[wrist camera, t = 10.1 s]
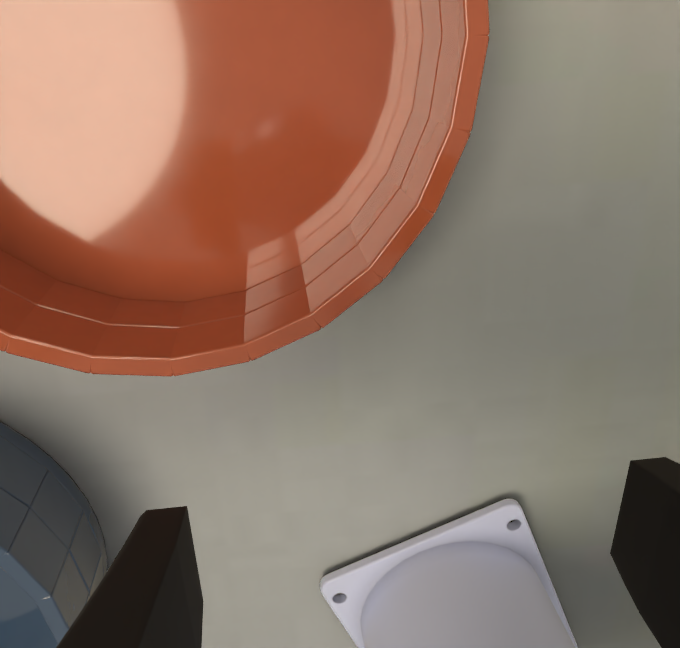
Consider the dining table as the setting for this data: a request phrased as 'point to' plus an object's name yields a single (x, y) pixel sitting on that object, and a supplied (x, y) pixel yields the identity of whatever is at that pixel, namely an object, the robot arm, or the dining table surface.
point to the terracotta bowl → (217, 168)
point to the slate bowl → (43, 546)
